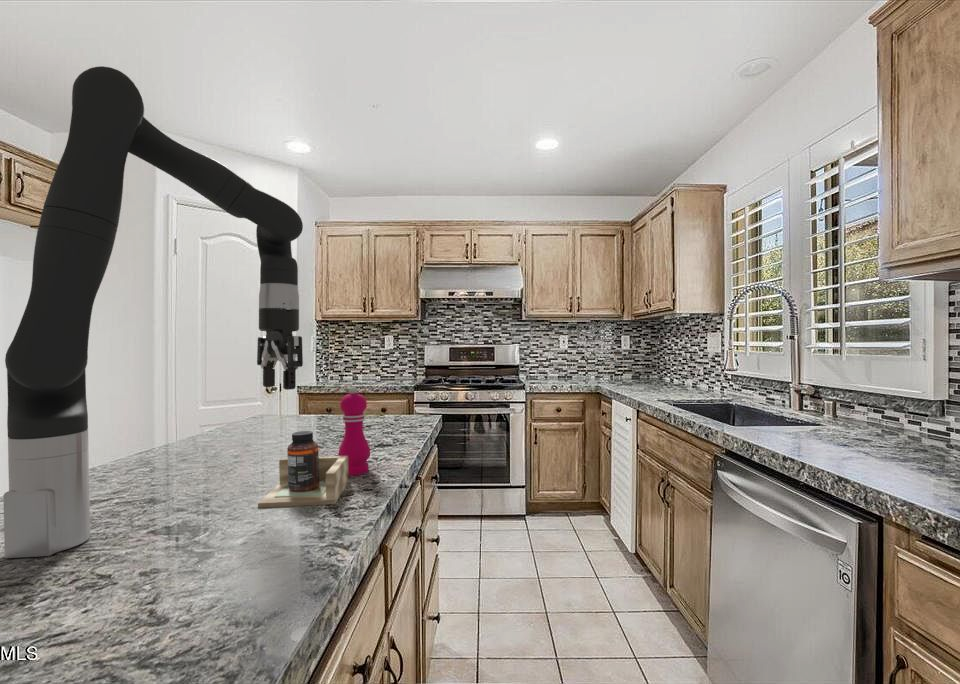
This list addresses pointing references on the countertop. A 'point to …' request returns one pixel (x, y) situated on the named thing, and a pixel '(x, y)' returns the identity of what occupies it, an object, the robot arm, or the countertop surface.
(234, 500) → the countertop surface
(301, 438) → the supplement bottle
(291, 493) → the tray
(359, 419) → the pepper mill
